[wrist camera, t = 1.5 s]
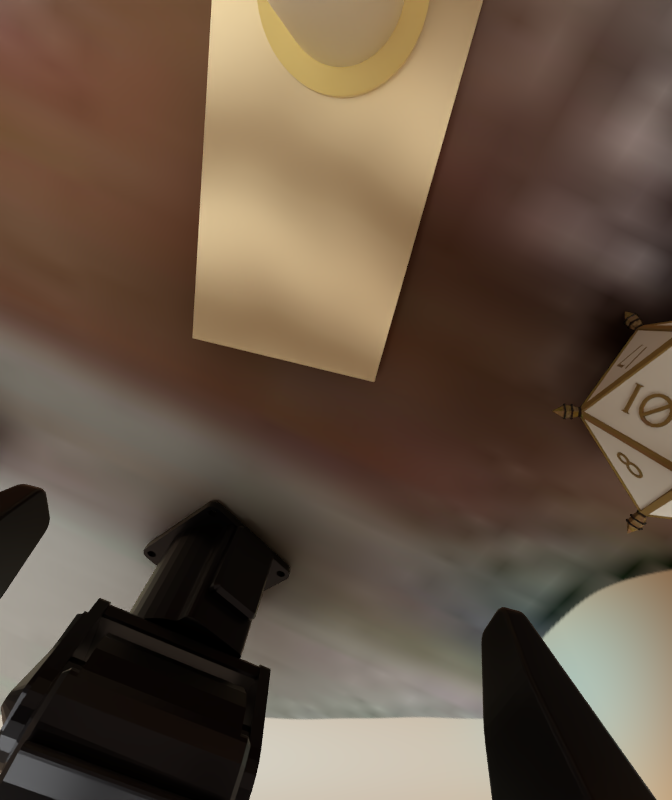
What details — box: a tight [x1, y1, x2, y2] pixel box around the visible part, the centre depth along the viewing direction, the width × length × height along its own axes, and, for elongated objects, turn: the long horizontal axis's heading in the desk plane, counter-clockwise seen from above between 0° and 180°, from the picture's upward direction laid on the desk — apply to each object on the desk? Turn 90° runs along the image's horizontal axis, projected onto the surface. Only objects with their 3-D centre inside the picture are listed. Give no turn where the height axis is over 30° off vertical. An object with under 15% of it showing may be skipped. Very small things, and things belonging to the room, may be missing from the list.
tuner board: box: [193, 0, 483, 382], centre depth 15 cm, size 18×8×1 cm, turn 168°
